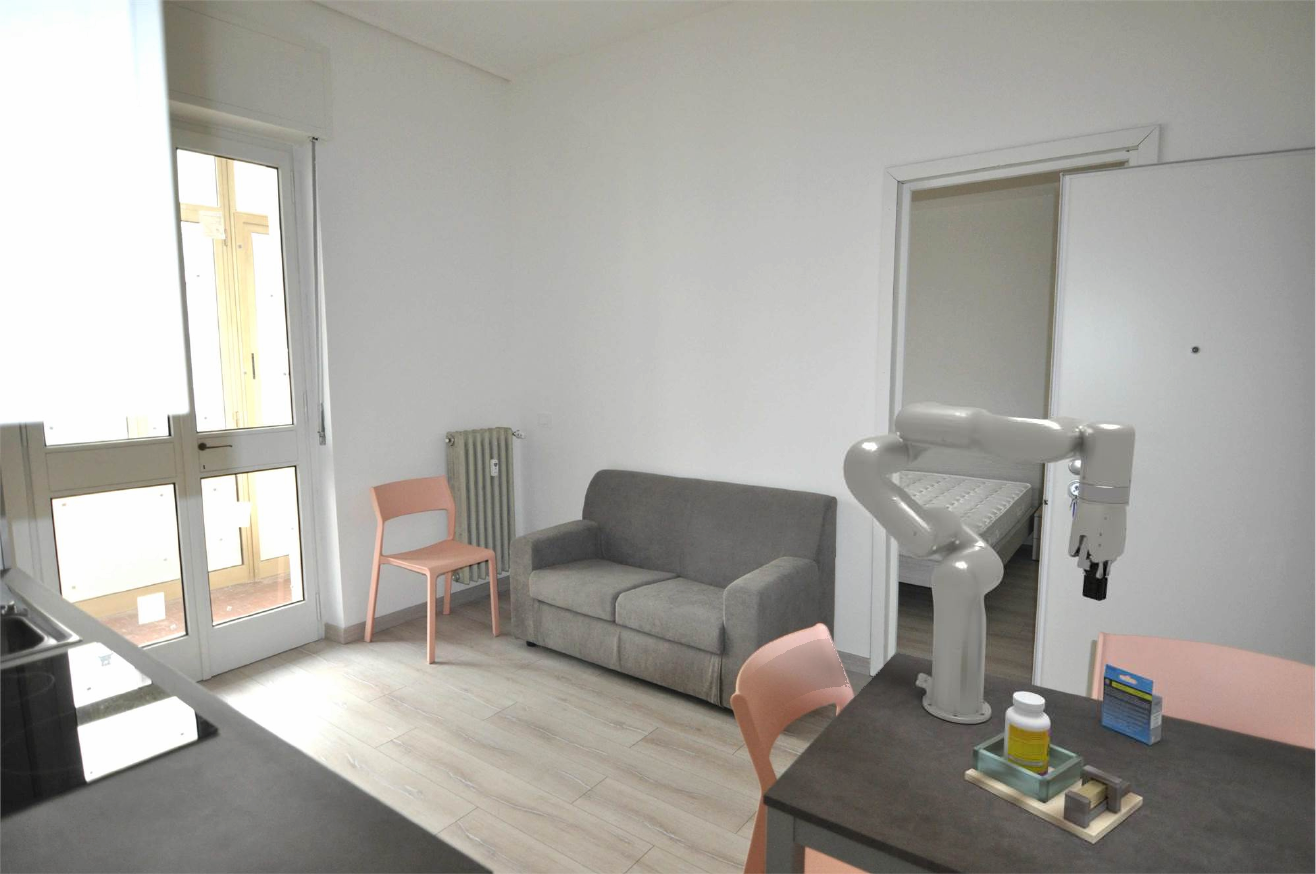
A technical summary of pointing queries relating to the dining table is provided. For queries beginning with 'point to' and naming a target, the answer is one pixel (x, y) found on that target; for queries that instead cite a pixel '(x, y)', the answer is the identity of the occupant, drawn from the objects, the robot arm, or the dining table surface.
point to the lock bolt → (1094, 791)
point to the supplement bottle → (1027, 733)
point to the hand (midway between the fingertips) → (1094, 597)
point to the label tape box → (1131, 705)
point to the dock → (1054, 789)
